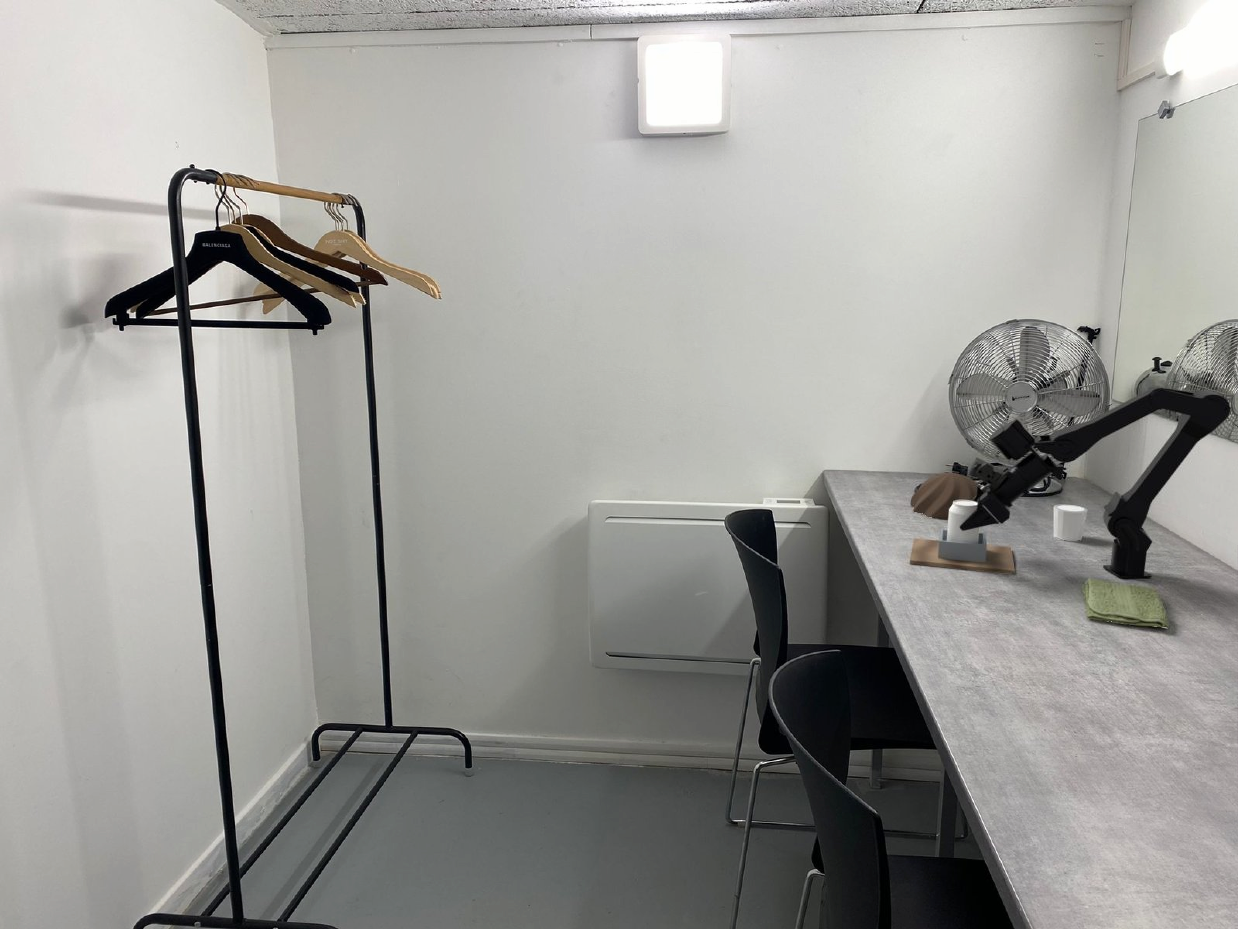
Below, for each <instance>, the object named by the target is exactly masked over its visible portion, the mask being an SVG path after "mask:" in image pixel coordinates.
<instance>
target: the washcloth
mask: <svg viewBox="0 0 1238 929" xmlns="http://www.w3.org/2000/svg"><path fill="white" fill-rule="evenodd" d="M1080 589H1081V594H1082V595H1083V596H1084V601H1085V618H1087V619H1088V620H1090V619H1091V620H1090V621H1095V620H1102V621H1101V622H1103V621H1109V622H1108V623H1112V622H1118V623H1117V624H1119V623H1123V624H1122V625H1127V624H1129V625H1131V626H1142V627H1149V626H1157V627H1161V628H1160V629H1162V627H1167V628H1169V629H1170V624H1171V622H1170V621H1169V620H1168V617H1167V611H1166V608H1165V607H1164V603H1163V601H1162V597H1161V595H1160V594H1159V592H1158V590H1157V589H1156V588H1153V587H1147V586H1141V585H1132V584H1129V583H1128V584H1121V583H1117V582H1116V583H1115V582H1110V581H1108V580H1102V579H1101V580H1100V579H1095V578H1094V579H1093V578H1088V579H1086V580H1085V581H1084V584H1083V585H1082V586H1081V588H1080ZM1111 621H1112V622H1111Z"/></svg>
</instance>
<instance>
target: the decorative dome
mask: <svg viewBox="0 0 1238 929" xmlns="http://www.w3.org/2000/svg"><path fill="white" fill-rule="evenodd" d="M977 484H979V482H977V481H975V480H973V479H972V478H970V477H968V476H966V475H963V474H959V473H955V472H945V473H941V474H936V475H934V476H931V477H929V478H928V479H926V480H924V482H922V483H921V485H920V486H919V488H918V489H917V490H916V491H915V492H914V493H913V494H912V496H911V498H910V502H909V503H910V504H909V505H911V506H910V507H911V508H913V507H914V508H913V510H912V512H913V511H914V512H913V513H915V512H917V514H919V513H923V514H925V515H926V516H925V515H924V516H925V517H927V518H929V517H932V518H931V519H936V518H940V519H941V520H947V521H948V518H949V509H950V507H951V506H952V504H953V501H955V500H970V501H972V500H973V498H974V497H975V496H976V494H977ZM923 514H922V515H923ZM940 519H939V520H940Z"/></svg>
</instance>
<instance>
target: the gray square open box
mask: <svg viewBox="0 0 1238 929" xmlns="http://www.w3.org/2000/svg"><path fill="white" fill-rule="evenodd" d="M947 532H948V528H947V529H946V528H940V529H939V538H938V541H939V550H938V558H944V559H954V560H964V561H975V562H985V560H986V548H987V545H988V542H987V532H980V531H979V540H978V544H976V543H965V542H954V541H947Z"/></svg>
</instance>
